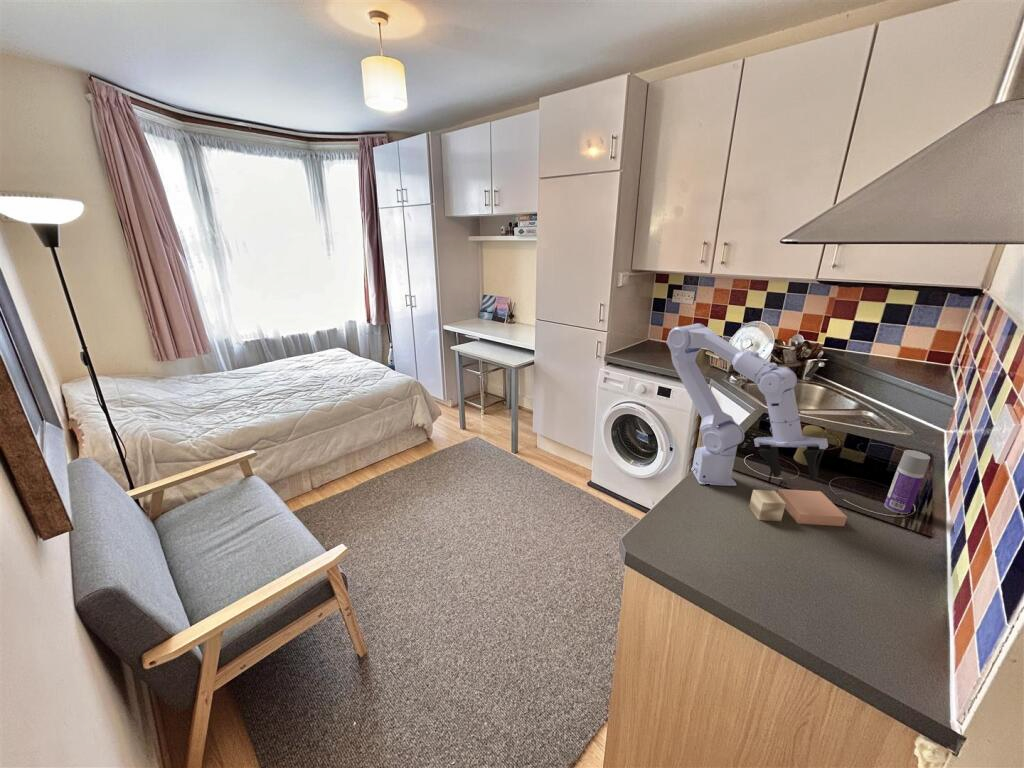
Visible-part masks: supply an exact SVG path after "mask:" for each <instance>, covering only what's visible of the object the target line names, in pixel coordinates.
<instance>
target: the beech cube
mask: <svg viewBox="0 0 1024 768" xmlns="http://www.w3.org/2000/svg"><path fill="white" fill-rule="evenodd" d="M777 493H778V492H776V490H768V489H767V490H765V489H753V490H752V493H751V497H750V501H749V506H748V507H749V508H750V510H751V512H752V513H753V514H754V515H755V517H756V518H757V519H758V520H759V521H769V522H771V521H773V522H782V519H783V515H784V511H785V505H786V503H785V502H784V501H783V500H782V499H781V497H780V496H779V495H778V494H777Z"/></svg>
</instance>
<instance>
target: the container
mask: <svg viewBox="0 0 1024 768" xmlns="http://www.w3.org/2000/svg"><path fill="white" fill-rule="evenodd" d="M930 460H931V456H930V455H928V454H927V453H924V452H922V451H919V450H914V449H912V450H911V449H905V450H904V451H903V453H902V456H901V459H900V460H899V463H898V465H897V468H896V471H895V473H894V476H893V479H892V482H891V485H890V488H889V490H888V493H887V495H886V499H885V501H884V504H883V505H884V507H885V508H886V509H887V510H889V511H890V512H892V513H896V514H898V513H900V515H903V514H907V515H909V514H910V513H911V511H912V508H913V505H914V504H915V501H916V498H917V496H918V492H919V490H920V487H921V485H922V483H923V480H924V478H925V474H926V472H927V469H928V465H929V464H930ZM908 513H909V514H908Z"/></svg>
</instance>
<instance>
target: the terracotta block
mask: <svg viewBox="0 0 1024 768" xmlns="http://www.w3.org/2000/svg"><path fill="white" fill-rule="evenodd" d="M776 493H777V494H778V495H779V496H780V497H781V499H782V500H783V501H784V502H785V503H786V505H785V508H784V510H786V511H787V512H788V514H789V515H790V516H791V517H792V518H793V519H794V520H795V522H796V523H797V524H800V525H801V524H803V525H819V526H831V527H832V526H833V527H834V526H835V527H845V524H846V521H847V519H848V516H847V515H846V514H845V513H843V512H842V511H841V509H839V507H837V506H836V505H835V504H834V503H833V502H832V500H830V499H829V498H828V497H827V496H826V494H824V493H823V492H822V491H820V490H803V489H800V490H799V489H783V488H778V489H777V492H776Z"/></svg>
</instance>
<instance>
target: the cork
mask: <svg viewBox="0 0 1024 768" xmlns="http://www.w3.org/2000/svg"><path fill="white" fill-rule="evenodd" d="M801 430H802V435H803V436H805V437H814V438H824V437H825V430H824V429H823V428H822V427H821V426H816V425H813V424H812V425H811V424H809V425H805V426H803V428H802V429H801ZM806 449H807V448H803V447H797V448H796V451H795V453H794V455H793V459H794V461H795V462H797V463H798V464H802V465H803V466H807V467H808V465H807V462H806V459H805V456H804V454H803V451H804V450H806Z"/></svg>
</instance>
